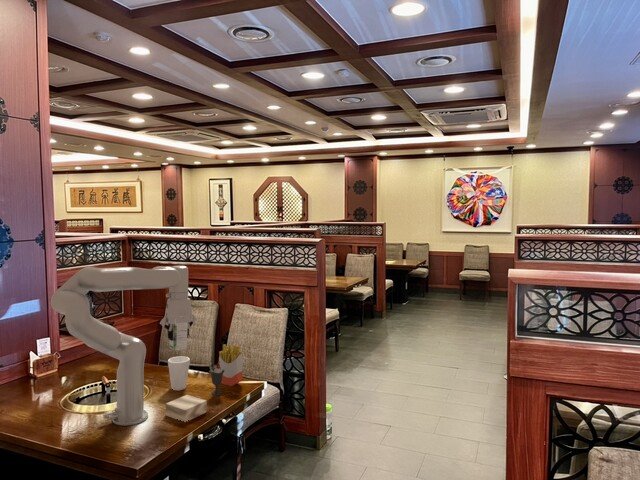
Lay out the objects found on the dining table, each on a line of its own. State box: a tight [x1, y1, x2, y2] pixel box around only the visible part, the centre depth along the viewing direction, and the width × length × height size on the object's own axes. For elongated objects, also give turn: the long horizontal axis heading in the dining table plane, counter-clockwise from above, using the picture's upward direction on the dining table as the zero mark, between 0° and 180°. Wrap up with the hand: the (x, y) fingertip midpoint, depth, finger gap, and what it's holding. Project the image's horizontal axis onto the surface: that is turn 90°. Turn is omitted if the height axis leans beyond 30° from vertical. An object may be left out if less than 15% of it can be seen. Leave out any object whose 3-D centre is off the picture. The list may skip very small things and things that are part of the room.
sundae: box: [208, 360, 225, 396], centre depth 206 cm, size 7×7×15 cm
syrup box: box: [169, 316, 188, 352], centre depth 195 cm, size 6×6×14 cm
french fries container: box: [218, 343, 244, 387], centre depth 217 cm, size 5×11×18 cm, turn 63°
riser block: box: [165, 394, 208, 423], centre depth 185 cm, size 11×11×5 cm
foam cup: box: [167, 355, 191, 391], centre depth 211 cm, size 10×9×13 cm
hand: (178, 338), depth 195 cm, fingers closed on syrup box, 5 cm apart
